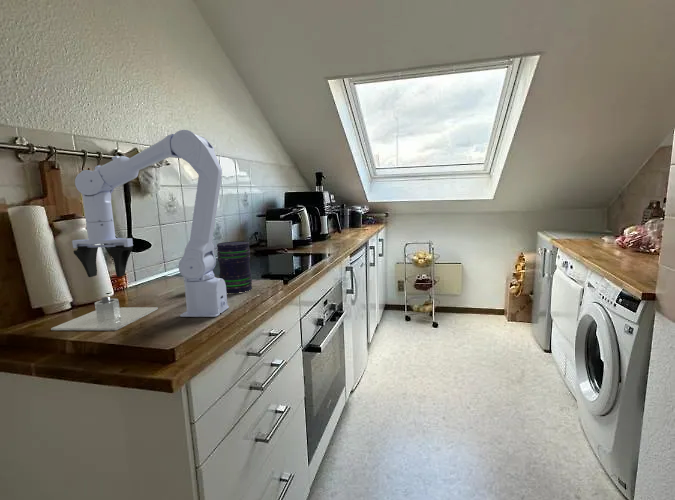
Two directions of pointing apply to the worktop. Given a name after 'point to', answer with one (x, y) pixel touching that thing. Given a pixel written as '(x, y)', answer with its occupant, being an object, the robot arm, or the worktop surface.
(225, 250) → the storage jar
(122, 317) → the thin grey base plate
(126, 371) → the worktop surface
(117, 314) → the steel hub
